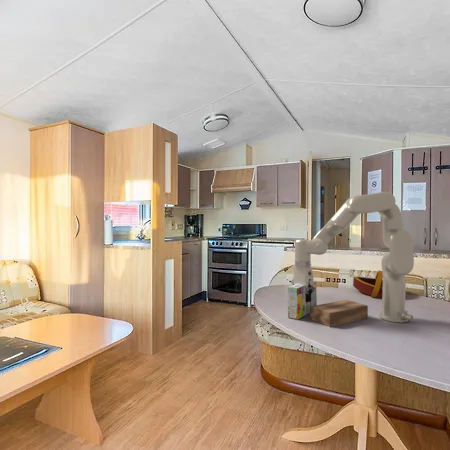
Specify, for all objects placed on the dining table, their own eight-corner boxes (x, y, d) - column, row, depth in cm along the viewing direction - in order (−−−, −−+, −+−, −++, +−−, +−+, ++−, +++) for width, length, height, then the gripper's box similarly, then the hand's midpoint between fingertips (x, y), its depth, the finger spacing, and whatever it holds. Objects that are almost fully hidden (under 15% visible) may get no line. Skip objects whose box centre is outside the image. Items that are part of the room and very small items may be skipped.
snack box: (307, 307, 164) (307, 279, 163) (317, 309, 160) (317, 280, 160) (287, 317, 147) (287, 286, 147) (298, 320, 144) (298, 287, 144)
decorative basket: (401, 306, 176) (406, 280, 175) (347, 292, 191) (351, 268, 190) (402, 294, 205) (406, 272, 204) (355, 283, 220) (359, 263, 219)
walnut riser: (367, 318, 147) (367, 305, 147) (329, 326, 135) (329, 313, 135) (346, 311, 157) (347, 299, 157) (310, 319, 146) (310, 306, 145)
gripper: (321, 265, 147) (321, 303, 148) (296, 261, 163) (296, 295, 163) (309, 267, 144) (309, 305, 144) (285, 262, 159) (285, 297, 160)
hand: (302, 299), depth 154 cm, fingers closed on snack box, 7 cm apart
